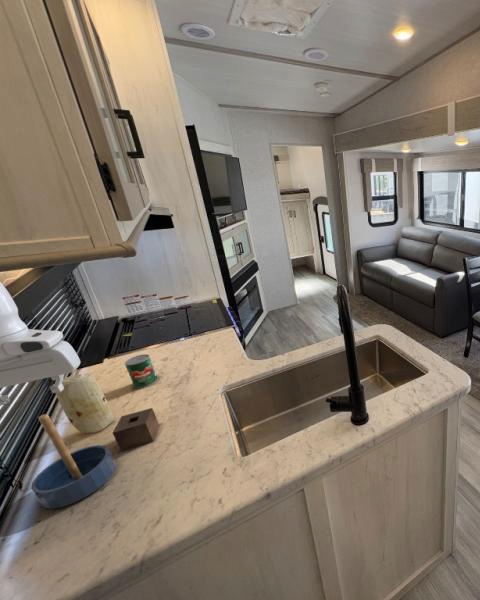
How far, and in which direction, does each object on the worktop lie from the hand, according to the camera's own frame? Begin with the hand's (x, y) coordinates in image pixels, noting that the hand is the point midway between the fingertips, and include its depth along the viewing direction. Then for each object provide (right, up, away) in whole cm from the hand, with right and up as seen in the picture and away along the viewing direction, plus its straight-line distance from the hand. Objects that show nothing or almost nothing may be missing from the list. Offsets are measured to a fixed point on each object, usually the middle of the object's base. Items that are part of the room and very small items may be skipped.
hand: (32, 397), depth 73 cm
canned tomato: (-18, -11, +54) cm, 58 cm away
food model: (-14, -20, +30) cm, 39 cm away
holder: (+5, -21, +25) cm, 33 cm away
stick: (+2, -26, +9) cm, 28 cm away
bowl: (+2, -26, +10) cm, 28 cm away
